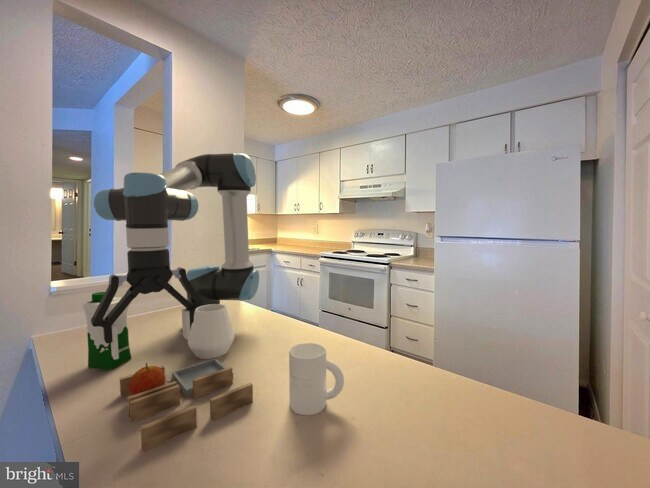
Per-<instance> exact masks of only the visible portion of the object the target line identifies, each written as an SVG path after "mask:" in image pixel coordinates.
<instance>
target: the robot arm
mask: <svg viewBox="0 0 650 488" xmlns="http://www.w3.org/2000/svg"><path fill="white" fill-rule="evenodd" d="M256 181H257V175H256V169H255V166H254V163H253V161H252V159H251V158H250V156H249V155H248V154H245V153H235V152H233V153H206V154H205V153H204V154H201V155H198V156H193V157H191V158H188V159H186V160H183V161H180V162H179V163H177V164H175V167H174V168H171V169H169V170H166V171H163V172H161V173H159V174H158V173H152V172H129V173H126V174H125V175H124V177H123V187H122V188H116V189H115V188H110V189H109V188H108V189H102V190H100V191H98V192H97V193H96V194H95V196H94V198H93V208H94V209H95V212H96V214H97V215H98V216H99V217H100V218H102V219H103V220H107V221H116V222H120V221H125V223H126V224H125V233H126V247H127V248H128V249H130V250H128V252H127V253H126V254H127V268H128V270H127V273H126V274H125V275H124V274H123V275H116V274H115V273H114V274H110V275H109V277H108V285H107V286H108V287H107V288H106V290H105V291H104V292H105V294H104V296H103V298H102V300H101V302H100V303H99V305H98V307H97V309H96V311H95V313H94V315H93V317H92V319H91V323H92V325H93V326H94V327H97V326H99V327H103V333H104V340H105V342H106V344H107V343H111V351H112V357H113V359H114V360H116V359H119V353H118V336H117V326H116V325H115V323H114V322H115V321H116V320H117V318H118V317H119V316H120V315H121V314H122V312H123V311H124V310H125V309H126V308H127V306H128V305H129V306H130V304H131V303H132V301H134V299H135V298H137V296H138V295H139V294H143V295H147V294H148V295H149V294H150V293H160V292H162V291H163V290H165V291H166V292H167V293H168V294H169V295H171V297H173V298H174V299H175V300H176V301H178V302H179V303H180V304H181V305H182V306H183V307H185V308H182V309H181V322H182V324H181V325H182V337H183V338H184V339H185V340H187V341H188V339H190V330H191V326H192V323H193V322H194V313H195V310H196V308H198V307H200V306H203V305H209V304H221V301H239V302H241V301H251V300H252V299H253V298H254V297H255V296H256V294H257V292H258V289H259V283H260V273H259V270H257V269H255V268H254V263H253V261H250V253H249V252H250V249H249V225H248V223H249V221H248V220H249V219H248V198H247V197H248V195H250V193H251V192H252V191H251V188H253V187H255V186H256ZM207 187H208V188H210V187H211V188H216V189H217V193H218V194H219V195H220V196H221V197H222V198H221V201H222V219H223V238H224V240H223V241H224V257H225V258H224V261H225V262H224V263H223V264H222V265H221V266H220V265H218V264H214V265H213V264H212V265H205V266H200V267H195V268H191V269H188V271H187V270H186V269H185V268H183V267H177V268H176V269H171V268H170V267H171V266H170V265H171V264H170V260H171V259H170V250H169V249H168V248H167V247H168V246H170V245H169V244H170V240H169V223H168V221H179V222H181V221H182V222H184V221H188V220H191V219H193V218H194V217H195V216H196V215H197V213H198V211H199V201H198V199H197V197H196V196H195V194H193V193H191V192H190V191H188V190H197V188H207ZM220 267H221V268H220ZM173 276H174V277H175V278H176V279H178V280H179V282H180V284H181V286H182V287H183V289H184V291H185V293H186V297H184V296H183V295H182V294H181V293H180V292H179V291H177V289H176V288H174V286H172V285H171V284H170V283H169V282H170V280H171V279H172V277H173ZM125 282H127V283H128V284H129V285H130V287H129V288H128V289H127V291H126V293H125V294H124V295H123V296H122V297H120V298H121V300H120V301H119V302H118V303H117V304H116V306H115V307H114V308H113V309H112V310H111V312H110V313H109V314H108V315H107V316H106V317H105V319H103V317H104V316H105V314H106V312H107V310H108V308H109V306H110V304H111V302H112V300H113V298H114V297H115V296H116V293H117V291H118V290H119V287H122V285H124V283H125Z"/></svg>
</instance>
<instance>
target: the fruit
mask: <svg viewBox="0 0 650 488" xmlns="http://www.w3.org/2000/svg"><path fill="white" fill-rule="evenodd" d="M133 374H134V375H133V377H132V379H131V381H130V385H129V389H130V393H131V394H130V396H132V395H135V394H138V393H141V392H144V391H147V390H150V389H153V388H156V387H159V386H162V385H165V384H166V374H164V372H163V370H162V369H161V368H160V366H157V365H148V362H145V366H143V367H141V368H140V369H138V370H137V371H136V372H134V373H133Z"/></svg>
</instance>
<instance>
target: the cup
mask: <svg viewBox="0 0 650 488" xmlns="http://www.w3.org/2000/svg"><path fill="white" fill-rule="evenodd" d="M234 340H235V332H234V329H233V325H232V322H231V318H230V315H229V312H228V308H227V306H226V305H225V304H221V303H220V304H209V305H203V306H200V307H198V308H196V310H195V313H194V322H193V323H192V326H191V330H190V339H188V340H187V345H188V347H189V348H190V350H191V351H192V352H193V354H194V355H195V356H196V358H198V357H199V359H203V360H212V359H217V358H220V357H222V356H224V355H225V354H226V353H228V352H229V349H230V348H231V346H232V344H233V342H234Z"/></svg>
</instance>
